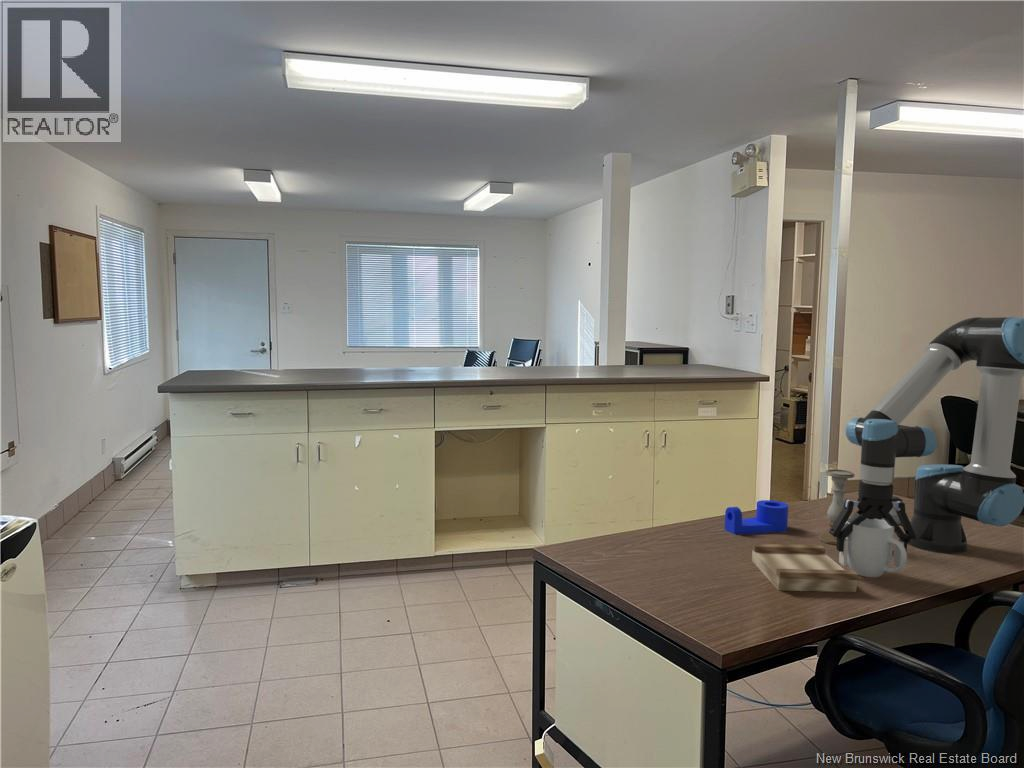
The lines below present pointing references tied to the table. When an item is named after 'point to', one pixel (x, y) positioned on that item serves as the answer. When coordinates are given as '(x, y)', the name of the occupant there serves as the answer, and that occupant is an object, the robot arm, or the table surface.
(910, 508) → the table surface
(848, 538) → the mug
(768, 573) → the wooden tray
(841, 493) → the candle holder
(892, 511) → the camera lens
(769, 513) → the bracket
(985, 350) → the robot arm
